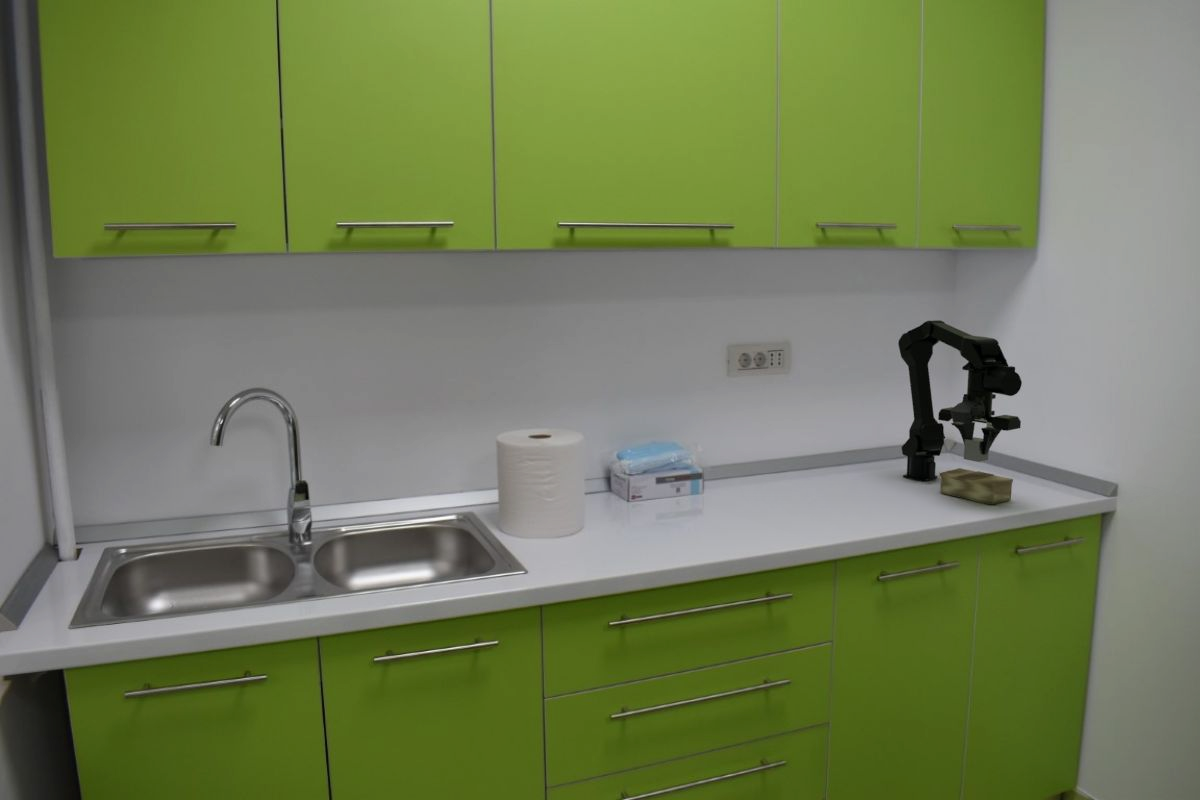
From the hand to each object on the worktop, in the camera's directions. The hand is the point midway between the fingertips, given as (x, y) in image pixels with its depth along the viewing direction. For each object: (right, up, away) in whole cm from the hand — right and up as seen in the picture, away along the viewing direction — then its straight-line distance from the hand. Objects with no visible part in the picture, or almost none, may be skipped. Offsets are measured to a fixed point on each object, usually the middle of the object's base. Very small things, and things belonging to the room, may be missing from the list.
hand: (976, 452), depth 214 cm
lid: (0, -6, +1) cm, 7 cm away
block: (0, -2, 0) cm, 2 cm away
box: (0, -11, +2) cm, 11 cm away
